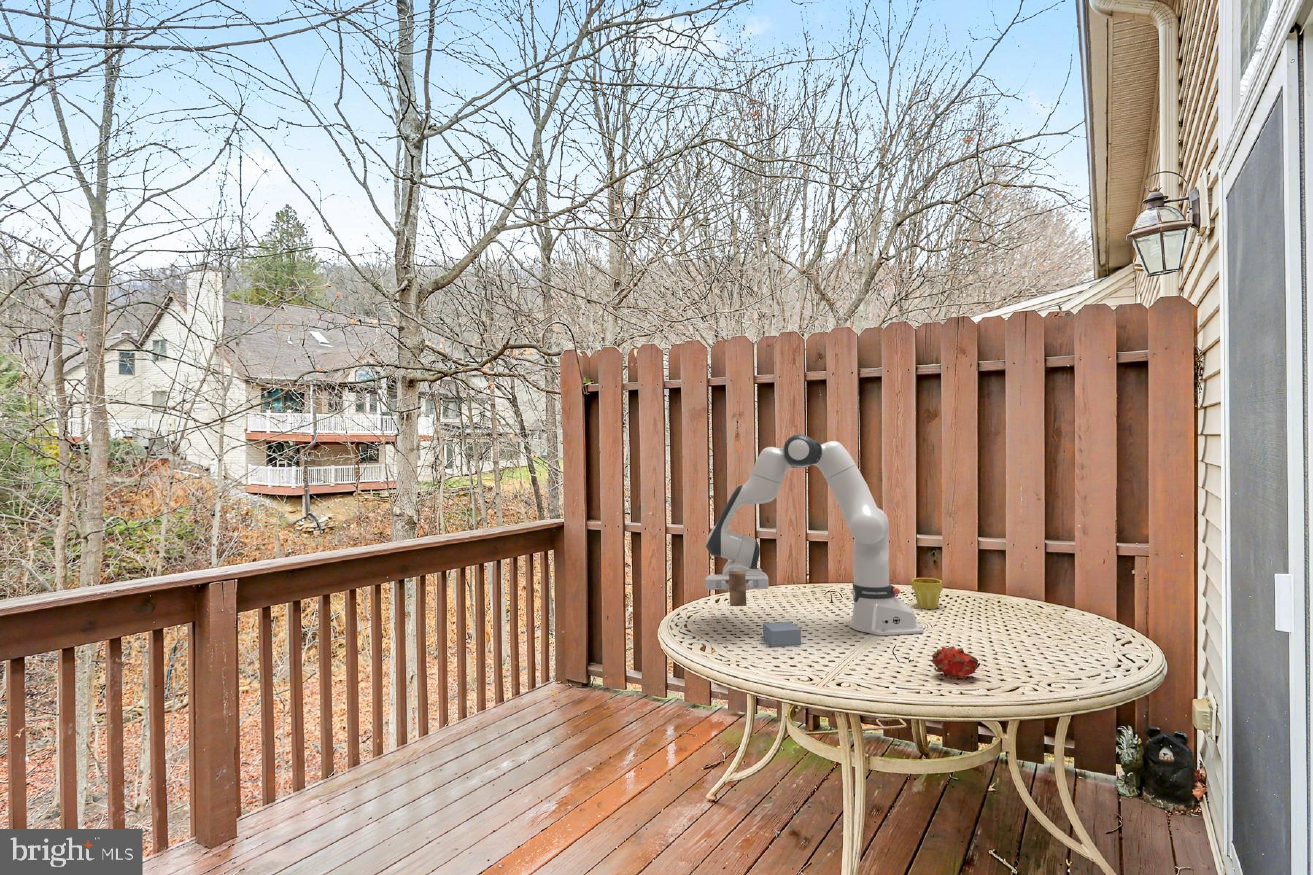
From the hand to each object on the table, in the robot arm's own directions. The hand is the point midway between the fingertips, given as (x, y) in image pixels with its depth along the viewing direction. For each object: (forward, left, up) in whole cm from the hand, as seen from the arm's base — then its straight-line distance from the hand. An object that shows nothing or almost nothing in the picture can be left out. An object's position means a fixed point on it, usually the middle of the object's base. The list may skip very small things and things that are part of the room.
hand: (737, 587), depth 200 cm
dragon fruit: (-54, +31, -17) cm, 65 cm away
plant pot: (-70, -41, -17) cm, 83 cm away
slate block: (-13, +2, -17) cm, 21 cm away
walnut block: (0, -1, -6) cm, 6 cm away
